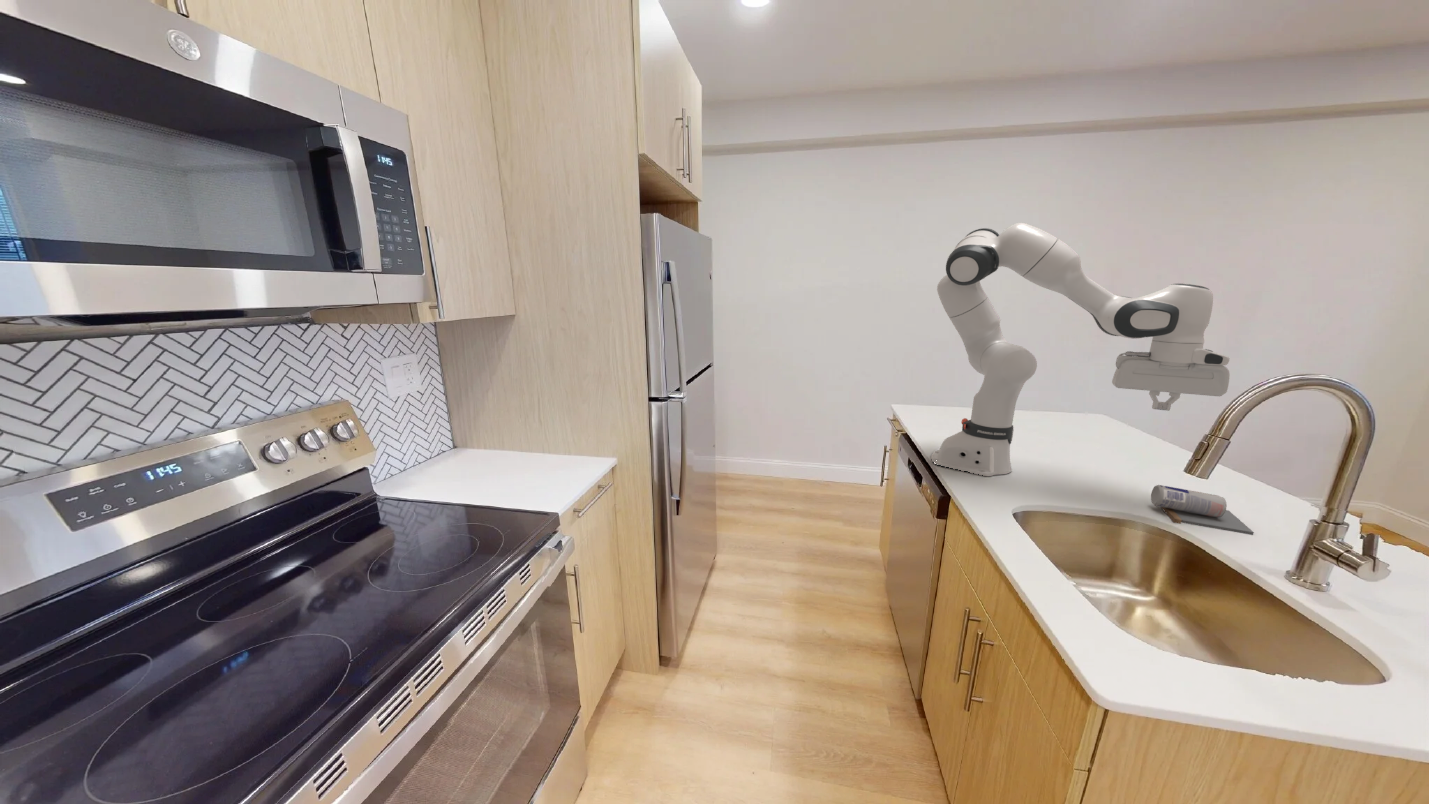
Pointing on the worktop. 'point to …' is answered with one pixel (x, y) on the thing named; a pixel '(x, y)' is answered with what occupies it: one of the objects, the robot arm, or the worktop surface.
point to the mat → (1215, 521)
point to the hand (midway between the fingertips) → (1160, 409)
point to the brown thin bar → (1172, 515)
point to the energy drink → (1188, 501)
